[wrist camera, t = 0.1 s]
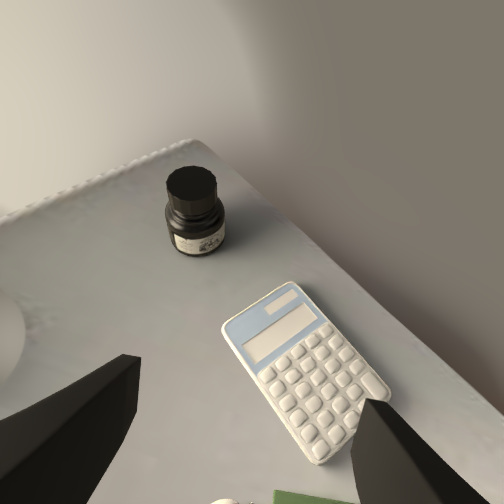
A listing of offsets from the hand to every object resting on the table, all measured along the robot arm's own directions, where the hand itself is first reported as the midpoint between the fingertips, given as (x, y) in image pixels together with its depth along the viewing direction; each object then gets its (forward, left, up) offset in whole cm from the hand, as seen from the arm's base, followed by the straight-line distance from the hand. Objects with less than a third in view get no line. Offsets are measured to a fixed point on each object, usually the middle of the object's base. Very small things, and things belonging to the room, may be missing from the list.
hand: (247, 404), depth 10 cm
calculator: (+11, -7, -32) cm, 35 cm away
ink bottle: (+29, +11, -32) cm, 45 cm away
